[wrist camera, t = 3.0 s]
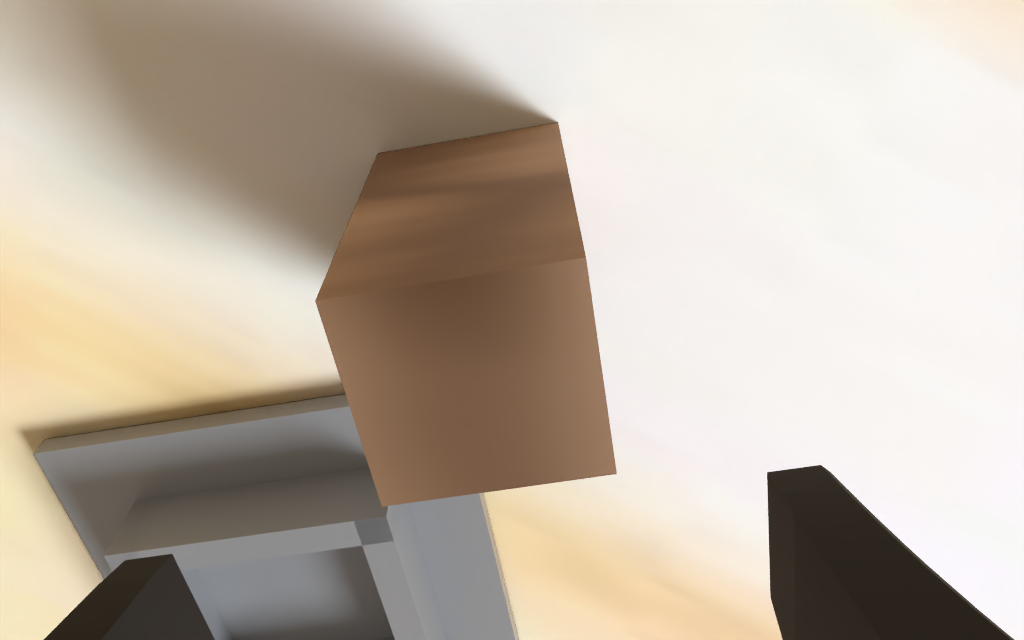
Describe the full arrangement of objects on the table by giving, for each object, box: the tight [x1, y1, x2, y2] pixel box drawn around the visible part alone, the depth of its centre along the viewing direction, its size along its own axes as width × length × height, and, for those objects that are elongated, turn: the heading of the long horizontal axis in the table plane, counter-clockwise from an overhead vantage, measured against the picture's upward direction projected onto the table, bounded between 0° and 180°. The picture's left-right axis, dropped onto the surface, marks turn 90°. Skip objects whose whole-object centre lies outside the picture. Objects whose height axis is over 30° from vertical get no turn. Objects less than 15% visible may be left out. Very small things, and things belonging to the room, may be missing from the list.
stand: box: [34, 394, 519, 640], centre depth 23 cm, size 11×11×3 cm
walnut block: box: [315, 122, 617, 507], centre depth 16 cm, size 4×4×7 cm
